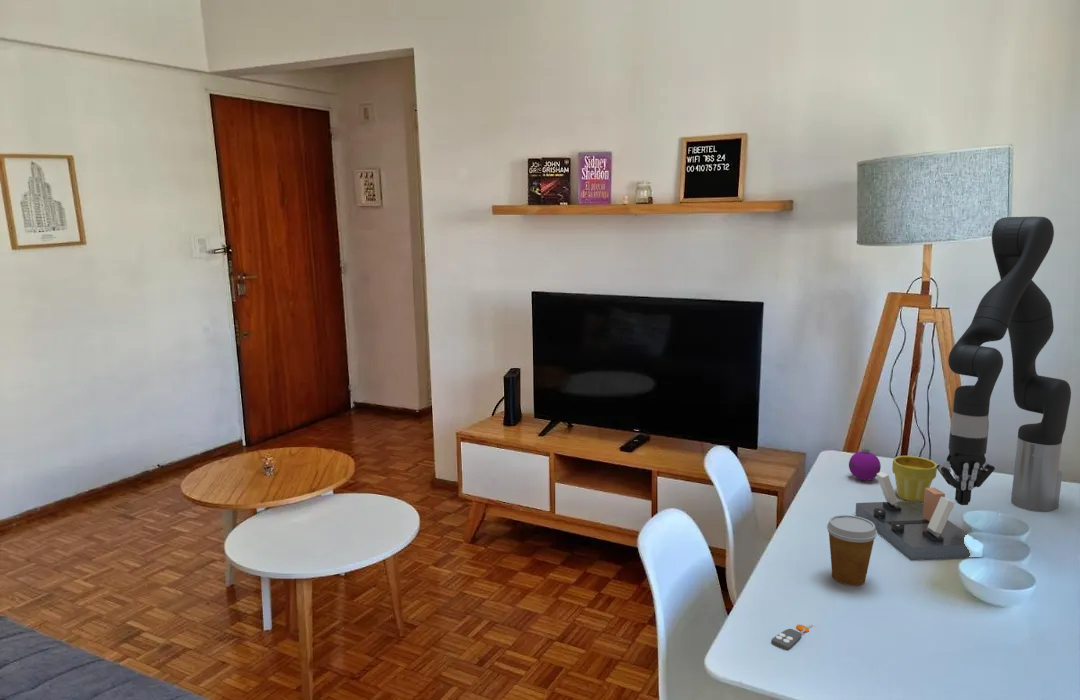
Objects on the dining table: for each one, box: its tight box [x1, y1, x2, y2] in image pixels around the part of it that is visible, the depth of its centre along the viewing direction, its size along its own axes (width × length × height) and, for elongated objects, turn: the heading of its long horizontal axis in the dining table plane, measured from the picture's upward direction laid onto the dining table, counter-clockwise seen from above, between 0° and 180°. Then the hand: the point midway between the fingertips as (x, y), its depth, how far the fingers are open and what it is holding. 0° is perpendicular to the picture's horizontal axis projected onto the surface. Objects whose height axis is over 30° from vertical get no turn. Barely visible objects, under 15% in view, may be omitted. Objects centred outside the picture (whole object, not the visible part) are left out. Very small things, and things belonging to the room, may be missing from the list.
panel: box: [854, 500, 970, 561], centre depth 172 cm, size 16×25×4 cm, turn 3°
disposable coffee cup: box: [826, 514, 878, 586], centre depth 151 cm, size 10×10×12 cm
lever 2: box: [927, 496, 955, 538], centre depth 162 cm, size 2×4×8 cm, turn 4°
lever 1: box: [876, 471, 898, 508], centre depth 179 cm, size 2×4×8 cm, turn 3°
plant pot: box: [892, 455, 938, 503], centre depth 193 cm, size 10×10×10 cm
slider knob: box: [922, 487, 946, 522], centre depth 171 cm, size 2×4×7 cm, turn 4°
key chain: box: [770, 624, 816, 651], centre depth 132 cm, size 13×4×2 cm, turn 133°
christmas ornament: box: [848, 447, 882, 481], centre depth 207 cm, size 8×8×10 cm
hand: (962, 503), depth 171 cm, fingers closed
